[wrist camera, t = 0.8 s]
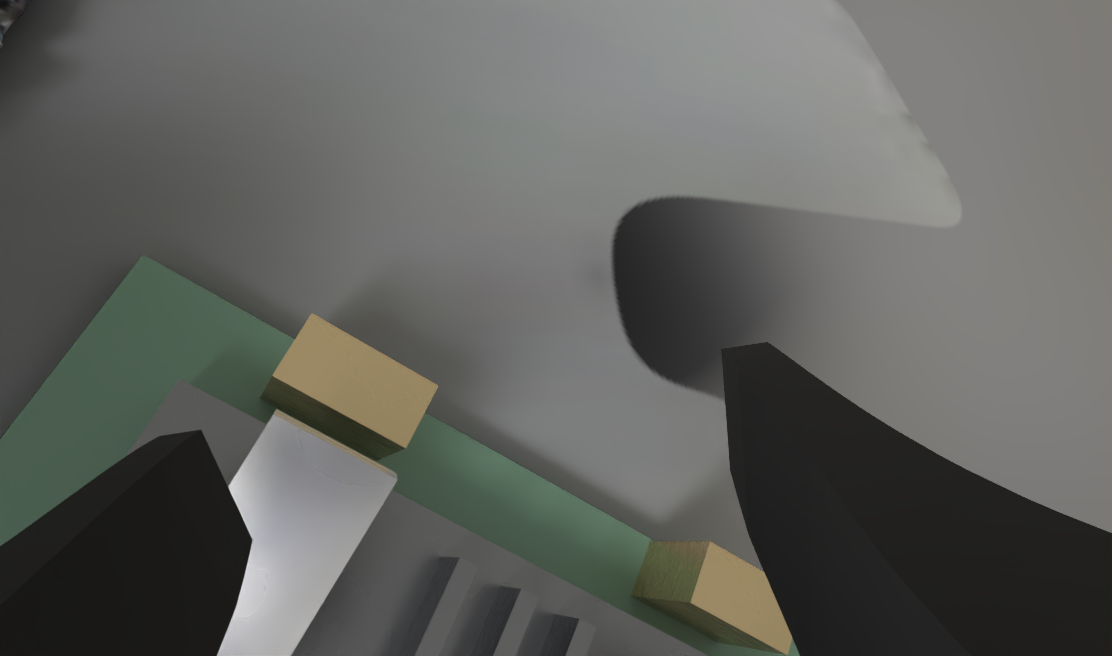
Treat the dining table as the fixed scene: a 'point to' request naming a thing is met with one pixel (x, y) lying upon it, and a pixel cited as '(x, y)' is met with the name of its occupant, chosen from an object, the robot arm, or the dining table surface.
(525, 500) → the circuit board
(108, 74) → the dining table surface
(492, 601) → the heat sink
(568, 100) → the dining table surface
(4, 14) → the tree stump
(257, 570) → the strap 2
